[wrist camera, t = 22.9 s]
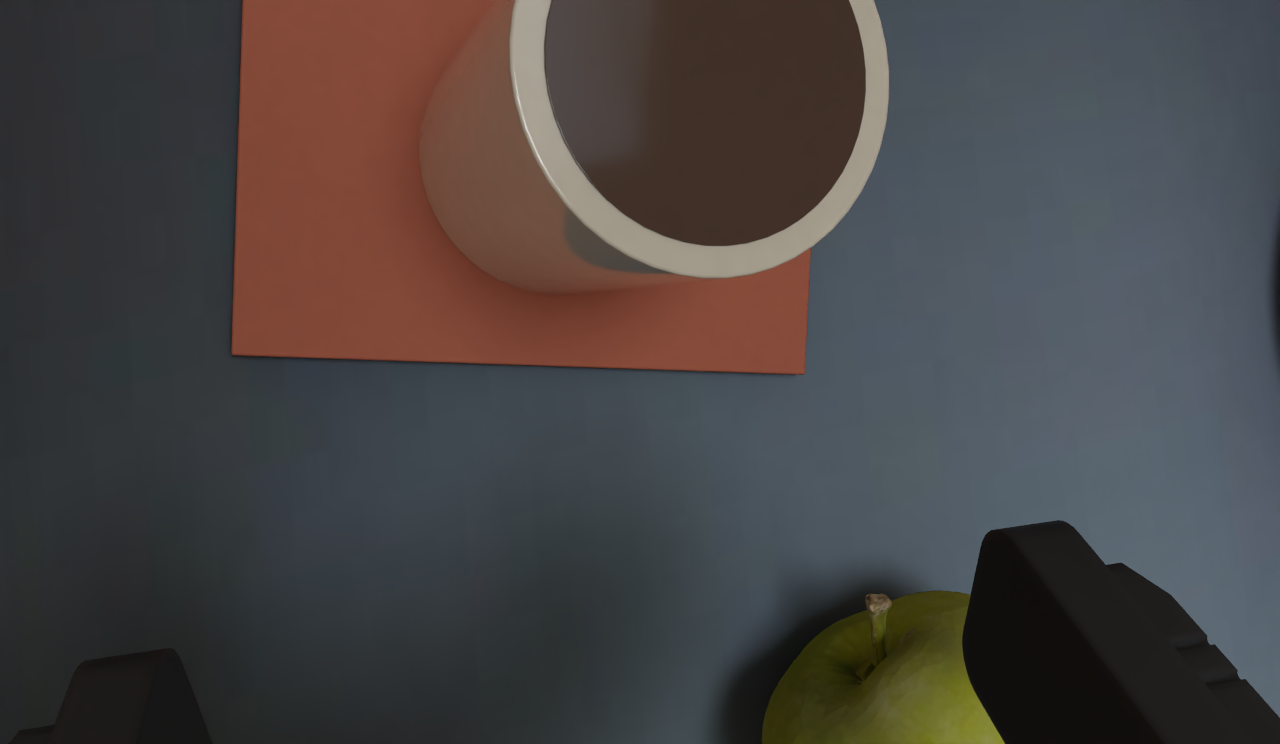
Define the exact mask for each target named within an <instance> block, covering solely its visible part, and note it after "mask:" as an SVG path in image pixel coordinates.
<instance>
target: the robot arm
mask: <svg viewBox="0 0 1280 744" xmlns="http://www.w3.org/2000/svg"><path fill="white" fill-rule="evenodd" d="M962 648H963V657H964V662H965V667H966V670H967V674H968V677H969V680H970V683H971V685H972V687H973V690H974V691H975V693H976V695H977V697H978V699H979V700H980V702H981V704H982V706H983V707H984V709H985V711H986V712H987V714H988V716H989V717H990V719H991V721H992V723H993V724H994V726H995V728H996V729H997V731H998V733H999V734H1000V736H1001V738H1002V740H1003V741H1004V743H1005V744H1280V718H1279V717H1278V715H1277V714H1276V713H1275V712H1274V711H1273V710H1272V709H1271V708H1270V706H1269V705H1268V704H1267V703H1266V702H1265V701H1264V700H1263V699H1262V697H1261V696H1260V695H1259V694H1258V693H1257V692H1256V691H1255V689H1254V688H1253V687H1252V686H1251V685H1250V684H1249V683H1248V682H1247V680H1246V679H1243V680H1241V679H1240V678H1239V677H1238V674H1237V671H1238V670H1237V669H1236V668H1235V667H1234V666H1233V665H1232V663H1231V662H1230V661H1229V660H1228V659H1227V658H1226V657H1225V656H1224V654H1223V653H1222V652H1221V651H1220V650H1219V649H1218V648H1217V647H1216V645H1215V644H1214V645H1210V644H1209V643H1208V641H1207V635H1206V634H1205V633H1204V632H1203V631H1202V630H1201V628H1200V627H1199V626H1198V625H1197V624H1196V623H1195V622H1194V621H1193V619H1192V618H1191V617H1190V616H1189V615H1188V614H1187V613H1186V611H1185V610H1184V609H1183V608H1182V607H1181V606H1180V605H1179V604H1178V602H1177V601H1176V600H1175V599H1174V598H1173V597H1172V596H1171V595H1170V594H1169V593H1167V592H1165V591H1164V590H1162V589H1161V588H1159V587H1158V586H1156V585H1155V584H1153V583H1152V582H1150V581H1149V580H1147V579H1146V578H1144V577H1143V576H1141V575H1140V574H1138V573H1136V572H1135V571H1133V570H1132V569H1130V568H1129V567H1127V566H1126V565H1124V564H1123V563H1116V564H1110V565H1105V564H1104V562H1103V561H1102V560H1101V559H1100V558H1099V556H1098V555H1097V554H1096V553H1095V552H1094V551H1093V549H1092V548H1091V547H1090V546H1089V545H1088V543H1087V542H1086V541H1085V540H1084V539H1083V537H1082V536H1081V535H1080V534H1079V533H1078V532H1077V530H1076V529H1075V528H1074V527H1072V526H1071V525H1070V524H1068V523H1066V522H1064V521H1059V520H1057V521H1051V522H1044V523H1037V524H1030V525H1024V526H1017V527H1010V528H1003V529H996V530H991V531H990V532H988V533H987V534H986V535H985V537H984V539H983V541H982V545H981V549H980V553H979V558H978V563H977V567H976V572H975V577H974V582H973V586H972V591H971V596H970V600H969V605H968V610H967V615H966V619H965V624H964V629H963V635H962ZM9 744H212V741H211V739H210V736H209V733H208V730H207V728H206V725H205V722H204V720H203V717H202V714H201V712H200V709H199V706H198V704H197V701H196V698H195V695H194V693H193V690H192V687H191V685H190V682H189V679H188V677H187V674H186V671H185V669H184V666H183V663H182V661H181V659H180V657H179V655H178V653H177V652H176V651H175V650H174V649H171V648H167V649H160V650H154V651H147V652H140V653H133V654H126V655H120V656H113V657H106V658H99V659H92V660H86V661H84V662H82V663H81V664H80V665H79V666H78V667H77V669H76V670H75V672H74V674H73V677H72V679H71V681H70V684H69V687H68V690H67V692H66V695H65V698H64V701H63V703H62V706H61V709H60V712H59V714H58V717H57V720H56V723H55V725H52V726H46V727H39V728H33V729H26V730H20V731H19V732H18V733H17V734H16V736H15V737H14V738H13V739H12V740H11V741H10V743H9Z"/></svg>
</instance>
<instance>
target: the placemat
mask: <svg viewBox="0 0 1280 744" xmlns="http://www.w3.org/2000/svg"><path fill="white" fill-rule="evenodd" d="M493 2H494V0H242V29H241V61H240V92H239V123H238V154H237V186H236V217H235V248H234V280H233V311H232V342H231V353H232V355H240V356H269V357H298V358H328V359H357V360H387V361H416V362H446V363H475V364H505V365H534V366H564V367H593V368H622V369H652V370H681V371H711V372H740V373H770V374H799V375H803V374H804V373H805V356H806V336H807V315H808V295H809V275H810V255H811V248H810V249H808V250H807V251H805V252H803V253H802V254H800V255H799V256H797V257H796V258H794V259H792V260H790V261H788V262H786V263H783V264H781V265H779V266H777V267H775V268H772V269H769V270H766V271H762V272H759V273H756V274H752V275H747V276H740V277H734V278H727V279H716V280H706V281H696V282H686V283H676V284H665V285H655V286H645V287H635V288H625V289H614V290H604V291H594V292H584V293H574V294H545V293H537V292H531V291H528V290H524V289H520V288H516V287H514V286H512V285H509V284H507V283H504V282H502V281H500V280H498V279H496V278H495V277H493V276H491V275H489V274H488V273H486V272H484V271H483V270H482V269H480V268H479V267H478V266H476V265H475V264H474V263H472V262H471V261H470V260H469V259H468V258H467V257H466V256H465V255H464V254H463V253H462V252H461V251H460V250H459V249H458V248H457V247H456V246H455V245H454V243H453V242H452V241H451V240H450V238H449V237H448V236H447V234H446V233H445V232H444V230H443V228H442V227H441V225H440V223H439V222H438V220H437V218H436V217H435V214H434V212H433V210H432V207H431V205H430V203H429V201H428V198H427V194H426V191H425V188H424V184H423V180H422V174H421V168H420V157H419V140H420V131H421V124H422V120H423V115H424V111H425V107H426V105H427V102H428V100H429V97H430V95H431V92H432V90H433V88H434V86H435V85H436V83H437V81H438V79H439V78H440V76H441V74H442V73H443V71H444V70H445V69H446V67H447V66H448V64H449V63H450V62H451V60H452V59H453V57H454V56H455V55H456V53H457V52H458V50H459V49H460V48H461V46H462V45H463V44H464V42H465V41H466V39H467V38H468V37H469V35H470V34H471V32H472V31H473V30H474V28H475V27H476V25H477V24H478V23H479V21H480V20H481V18H482V17H483V16H484V14H485V13H486V11H487V10H488V9H489V7H490V6H491V4H492V3H493Z"/></svg>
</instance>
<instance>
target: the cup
mask: <svg viewBox="0 0 1280 744" xmlns="http://www.w3.org/2000/svg"><path fill="white" fill-rule="evenodd" d="M888 102H889V67H888V58H887V49H886V43H885V38H884V34H883V29H882V25H881V20H880V17H879V14H878V11H877V8H876V5H875V3H874V0H494V2H493V3H492V4H491V6H490V7H489V9H488V10H487V11H486V13H485V14H484V16H483V17H482V18H481V20H480V21H479V23H478V24H477V25H476V27H475V28H474V30H473V31H472V32H471V34H470V35H469V37H468V38H467V39H466V41H465V42H464V44H463V45H462V46H461V48H460V49H459V50H458V52H457V53H456V55H455V56H454V57H453V59H452V60H451V62H450V63H449V64H448V66H447V67H446V69H445V70H444V71H443V73H442V74H441V76H440V78H439V79H438V81H437V83H436V85H435V86H434V88H433V90H432V92H431V95H430V97H429V100H428V102H427V105H426V107H425V111H424V115H423V120H422V124H421V131H420V140H419V157H420V168H421V174H422V180H423V184H424V188H425V191H426V194H427V198H428V201H429V203H430V205H431V207H432V210H433V212H434V214H435V217H436V218H437V220H438V222H439V223H440V225H441V227H442V228H443V230H444V232H445V233H446V234H447V236H448V237H449V238H450V240H451V241H452V242H453V243H454V245H455V246H456V247H457V248H458V249H459V250H460V251H461V252H462V253H463V254H464V255H465V256H466V257H467V258H468V259H469V260H470V261H471V262H472V263H474V264H475V265H476V266H478V267H479V268H480V269H482V270H483V271H484V272H486V273H488V274H489V275H491V276H493V277H495V278H496V279H498V280H500V281H502V282H504V283H507V284H509V285H512V286H514V287H516V288H520V289H524V290H528V291H531V292H537V293H545V294H574V293H584V292H594V291H604V290H614V289H625V288H635V287H645V286H655V285H665V284H676V283H686V282H696V281H706V280H716V279H727V278H734V277H740V276H747V275H752V274H756V273H759V272H762V271H766V270H769V269H772V268H775V267H777V266H779V265H781V264H783V263H786V262H788V261H790V260H792V259H794V258H796V257H797V256H799V255H800V254H802V253H803V252H805V251H807V250H808V249H810V248H811V247H813V246H814V245H815V244H817V243H818V242H819V241H820V240H821V239H822V238H823V237H825V236H826V235H827V234H828V233H829V232H830V231H831V230H832V229H833V228H834V227H835V226H836V225H837V224H838V223H839V221H840V220H841V219H842V218H843V217H844V216H845V215H846V213H847V212H848V211H849V209H850V208H851V206H852V205H853V203H854V202H855V200H856V199H857V197H858V196H859V194H860V193H861V191H862V190H863V188H864V186H865V184H866V182H867V180H868V178H869V176H870V174H871V171H872V169H873V167H874V164H875V161H876V158H877V155H878V153H879V150H880V147H881V143H882V139H883V134H884V130H885V125H886V120H887V111H888Z"/></svg>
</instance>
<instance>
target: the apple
mask: <svg viewBox="0 0 1280 744" xmlns="http://www.w3.org/2000/svg"><path fill="white" fill-rule="evenodd" d="M970 596H971V595H969V594H964V593H959V592H951V591H927V592H919V593H914V594H909V595H906V596H903V597H900V598H898V599H895V600H893V601H891V600H890V599H889V598H888V597H887V596H886V595H884V594H868V595H866V598H865V603H866V608H867V610H865V611H862V612H859V613H857V614H854V615H851V616H849V617H846V618H844V619H842V620H839V621H837V622H835V623H834V624H832V625H831V626H829V627H828V628H826V629H825V630H823V631H822V632H820V633H819V634H818V635H817V636H816V637H815V638H814V639H812V640H811V641H810V642H809V643H808V645H807V646H806V647H805V648H804V649H803V650H802V651H801V653H800V654H799V655H798V656H797V658H796V659H795V660H794V661H793V663H792V664H791V666H790V667H789V668H788V670H787V671H786V672H785V674H784V675H783V677H782V678H781V679H780V681H779V683H778V685H777V686H776V688H775V690H774V692H773V694H772V696H771V698H770V701H769V704H768V707H767V710H766V713H765V717H764V722H763V730H762V744H1005V743H1004V741H1003V740H1002V738H1001V736H1000V734H999V733H998V731H997V729H996V728H995V726H994V724H993V723H992V721H991V719H990V717H989V716H988V714H987V712H986V711H985V709H984V707H983V706H982V704H981V702H980V700H979V699H978V697H977V695H976V693H975V691H974V690H973V687H972V685H971V683H970V680H969V677H968V674H967V670H966V667H965V662H964V657H963V648H962V635H963V629H964V624H965V619H966V615H967V610H968V605H969V600H970Z"/></svg>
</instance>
